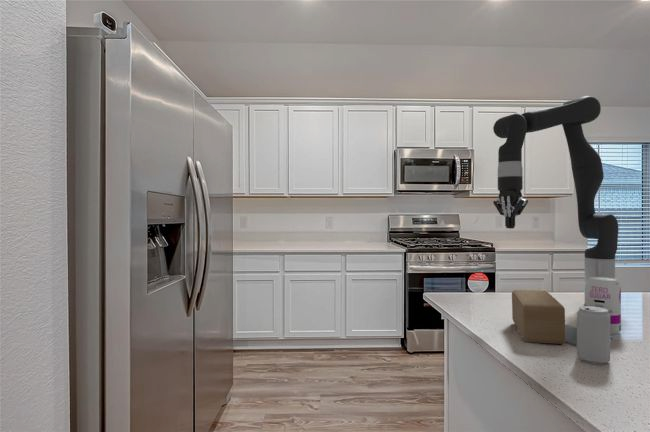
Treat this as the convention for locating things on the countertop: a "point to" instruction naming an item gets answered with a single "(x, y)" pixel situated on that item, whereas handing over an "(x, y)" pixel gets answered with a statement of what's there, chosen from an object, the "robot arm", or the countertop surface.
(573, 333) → the mat
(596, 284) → the supplement can
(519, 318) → the wooden block
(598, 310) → the beverage can
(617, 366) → the countertop surface
